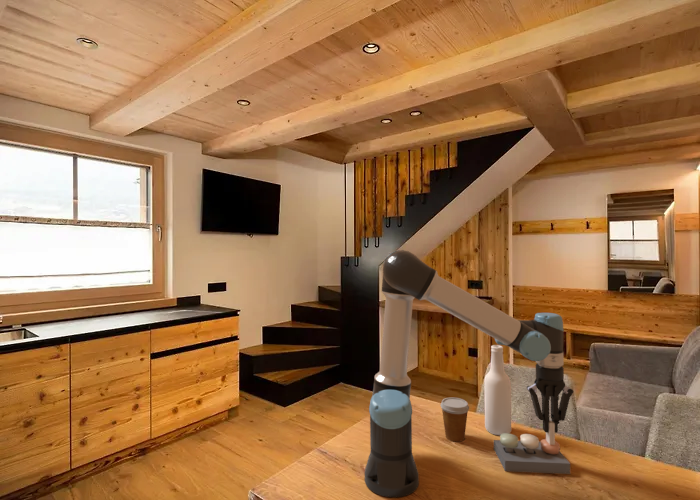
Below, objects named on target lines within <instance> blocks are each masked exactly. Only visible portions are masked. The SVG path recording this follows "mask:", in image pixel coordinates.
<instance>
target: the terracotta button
mask: <svg viewBox="0 0 700 500" xmlns="http://www.w3.org/2000/svg"><path fill="white" fill-rule="evenodd" d="M540 442H541V449H542V450H543V451H544V452H546V454H550V455H554V454H559V453H560V452H561V451H560V450H561V447H560V446H561V445H560V443H559V442H558V441H557V440H555V445H550V444H549V443H548V442H547V441H546V438H544V439H543V438H542V439H541V440H540Z"/></svg>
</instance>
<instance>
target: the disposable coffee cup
mask: <svg viewBox="0 0 700 500" xmlns="http://www.w3.org/2000/svg"><path fill="white" fill-rule="evenodd" d="M440 407H441V411H442V412H441V413H442V418H443V427H444V434H445V438H446V439H447V440H448V441H451V442H463V441H464V440H465V436H466V428H467V420H468V412H469V410H470V406H469V403H468V401H466V400H465V399H463V398H460V397H446V398H443V399H442V400H441V403H440Z"/></svg>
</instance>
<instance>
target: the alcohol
mask: <svg viewBox="0 0 700 500" xmlns="http://www.w3.org/2000/svg"><path fill="white" fill-rule="evenodd" d="M490 348H491V349H490V352H491V354H490V355H491V356H490V369H489V370H488V372H487V373H486V374H485V377H484V382H483V383H484V384H483V385H484V386H483V387H484V388H483V389H484V390H483V391H484V427H485V429H486V431H487V432H489V433H490V434H491V435H495V436H499V437H500V435H501V434H503V433H509V434H511V432H512V383H511V378H510V376H509V375H508V374H507V372H506V371H505V363H504V350H503V349H504V346H503V345H499V344H493V345H491V346H490Z"/></svg>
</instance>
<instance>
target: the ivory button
mask: <svg viewBox="0 0 700 500" xmlns="http://www.w3.org/2000/svg"><path fill="white" fill-rule="evenodd" d="M519 437H520V441H521V445H522V446H524V447H526V454H534V449H536V448H538V447H539V442H540V441H539V440H540V439H539V437H537V435H534V434H530V433H522V434H520V436H519Z"/></svg>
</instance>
